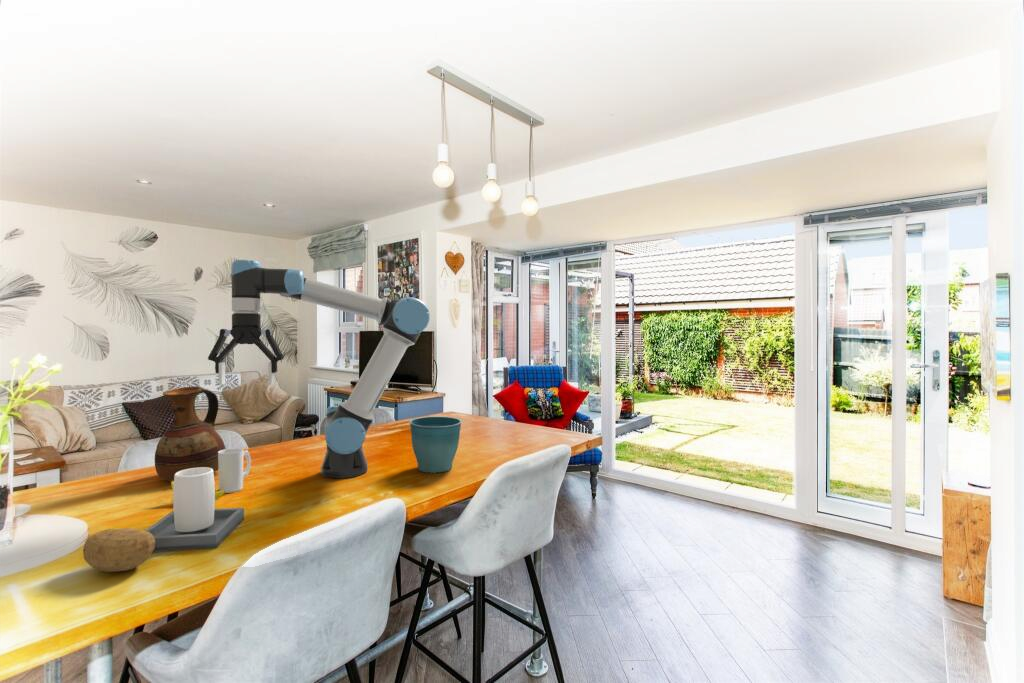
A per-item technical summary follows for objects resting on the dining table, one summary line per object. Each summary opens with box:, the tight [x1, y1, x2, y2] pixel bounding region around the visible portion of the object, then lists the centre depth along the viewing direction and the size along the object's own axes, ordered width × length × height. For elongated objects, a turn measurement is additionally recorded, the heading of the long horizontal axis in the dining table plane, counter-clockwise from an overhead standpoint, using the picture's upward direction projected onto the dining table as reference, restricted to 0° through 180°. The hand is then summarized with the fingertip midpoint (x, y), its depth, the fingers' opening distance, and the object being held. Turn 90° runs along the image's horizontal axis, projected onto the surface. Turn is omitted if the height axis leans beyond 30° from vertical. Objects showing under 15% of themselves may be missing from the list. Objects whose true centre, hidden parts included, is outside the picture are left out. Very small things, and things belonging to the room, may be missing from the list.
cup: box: [172, 467, 216, 532], centre depth 118 cm, size 8×8×14 cm
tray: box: [144, 507, 245, 553], centre depth 119 cm, size 17×17×3 cm
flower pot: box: [409, 416, 462, 474], centre depth 175 cm, size 18×18×17 cm
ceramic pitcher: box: [154, 385, 227, 482], centre depth 164 cm, size 20×20×30 cm
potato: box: [82, 527, 155, 573], centre depth 102 cm, size 10×14×8 cm
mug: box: [218, 447, 252, 494], centre depth 152 cm, size 10×7×12 cm, turn 155°
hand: (246, 384), depth 148 cm, fingers open, 13 cm apart
